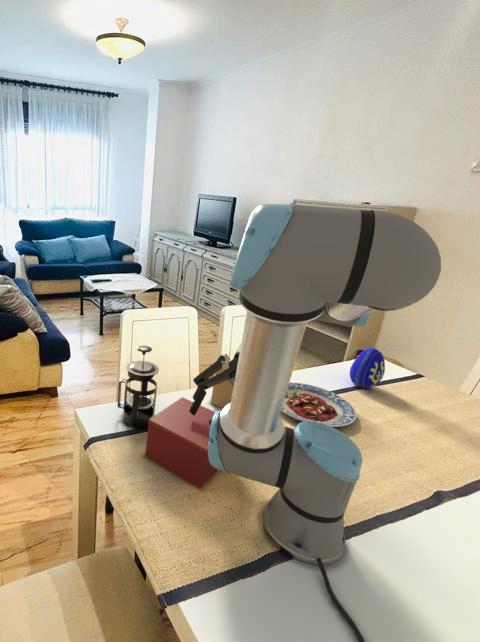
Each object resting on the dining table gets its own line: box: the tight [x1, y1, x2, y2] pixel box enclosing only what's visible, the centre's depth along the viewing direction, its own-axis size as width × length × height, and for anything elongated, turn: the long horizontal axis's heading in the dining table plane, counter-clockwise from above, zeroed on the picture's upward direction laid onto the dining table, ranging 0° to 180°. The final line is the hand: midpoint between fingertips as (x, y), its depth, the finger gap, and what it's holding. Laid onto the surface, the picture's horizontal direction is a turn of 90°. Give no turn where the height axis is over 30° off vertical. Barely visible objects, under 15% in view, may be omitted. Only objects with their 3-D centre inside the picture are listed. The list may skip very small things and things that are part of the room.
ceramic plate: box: [281, 382, 357, 428], centre depth 123 cm, size 26×26×3 cm
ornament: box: [349, 347, 386, 390], centre depth 137 cm, size 11×9×15 cm
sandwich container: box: [210, 352, 235, 409], centre depth 119 cm, size 9×15×15 cm, turn 58°
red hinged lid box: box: [144, 423, 220, 490], centre depth 96 cm, size 16×15×10 cm
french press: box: [117, 345, 160, 430], centre depth 108 cm, size 12×9×23 cm
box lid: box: [149, 397, 223, 454], centre depth 93 cm, size 17×15×6 cm
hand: (216, 425), depth 89 cm, fingers open, 13 cm apart
